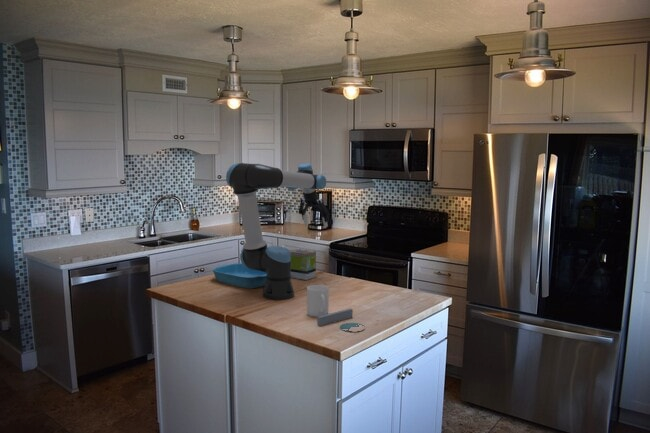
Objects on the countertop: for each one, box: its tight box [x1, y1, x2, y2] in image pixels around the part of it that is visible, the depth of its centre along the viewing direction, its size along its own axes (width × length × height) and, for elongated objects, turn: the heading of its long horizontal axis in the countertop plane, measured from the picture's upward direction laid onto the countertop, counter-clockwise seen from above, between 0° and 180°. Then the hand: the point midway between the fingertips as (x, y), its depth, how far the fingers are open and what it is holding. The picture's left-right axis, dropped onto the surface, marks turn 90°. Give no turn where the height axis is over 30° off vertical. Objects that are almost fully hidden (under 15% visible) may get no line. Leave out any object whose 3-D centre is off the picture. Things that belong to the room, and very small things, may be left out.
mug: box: [306, 284, 330, 318], centre depth 223 cm, size 10×12×12 cm
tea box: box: [288, 248, 317, 281], centre depth 287 cm, size 15×10×15 cm, turn 58°
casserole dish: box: [212, 262, 266, 289], centre depth 276 cm, size 37×22×7 cm, turn 52°
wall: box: [316, 308, 354, 327], centre depth 216 cm, size 18×2×4 cm, turn 130°
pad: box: [339, 322, 366, 332], centre depth 208 cm, size 10×10×1 cm
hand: (316, 226), depth 294 cm, fingers open, 13 cm apart
